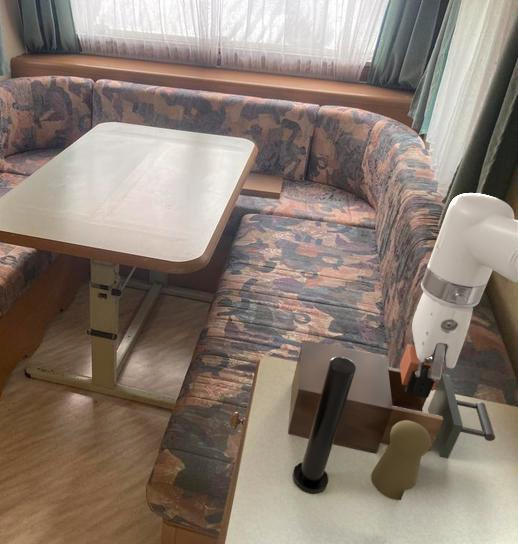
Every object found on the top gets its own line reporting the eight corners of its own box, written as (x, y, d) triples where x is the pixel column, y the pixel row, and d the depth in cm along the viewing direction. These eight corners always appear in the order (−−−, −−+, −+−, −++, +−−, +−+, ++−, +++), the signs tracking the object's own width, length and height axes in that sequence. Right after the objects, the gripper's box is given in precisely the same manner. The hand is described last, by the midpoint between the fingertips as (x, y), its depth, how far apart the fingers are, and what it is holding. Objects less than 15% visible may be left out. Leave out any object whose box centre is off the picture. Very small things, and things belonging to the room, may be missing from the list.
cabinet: (372, 399, 99) (386, 356, 94) (376, 454, 89) (393, 409, 84) (292, 382, 102) (302, 339, 97) (287, 433, 91) (298, 389, 86)
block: (429, 372, 89) (438, 350, 87) (433, 391, 85) (442, 368, 83) (399, 366, 90) (407, 343, 87) (402, 384, 86) (410, 362, 84)
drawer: (471, 418, 95) (488, 383, 91) (486, 472, 86) (506, 435, 82) (358, 394, 99) (369, 359, 95) (360, 443, 89) (373, 407, 85)
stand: (332, 477, 85) (368, 362, 73) (319, 500, 81) (356, 384, 70) (300, 460, 87) (331, 347, 76) (286, 482, 84) (316, 366, 72)
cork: (375, 497, 82) (396, 444, 76) (367, 463, 87) (386, 411, 81) (418, 503, 82) (443, 449, 76) (407, 468, 87) (430, 416, 81)
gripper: (497, 324, 71) (449, 429, 80) (470, 258, 85) (432, 354, 94) (432, 312, 72) (393, 416, 82) (416, 249, 86) (384, 345, 96)
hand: (414, 382), depth 88 cm, fingers closed on block, 4 cm apart
